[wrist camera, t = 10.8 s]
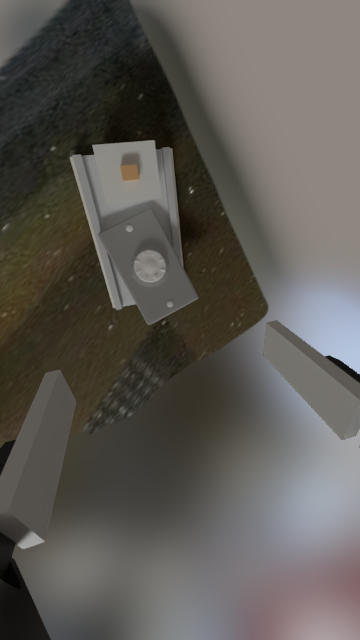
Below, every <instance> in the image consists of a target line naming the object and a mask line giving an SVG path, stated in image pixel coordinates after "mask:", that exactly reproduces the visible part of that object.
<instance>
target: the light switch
mask: <svg viewBox="0 0 360 640" xmlns="http://www.w3.org/2000/svg"><path fill="white" fill-rule="evenodd" d="M98 236H99V238H100V240H101V242H102V244H103V245H104V247H105V249H106V251H107V253H108V254H109V256H110V258H111V260H112V261H113V263H114V265H115V267H116V269H117V270H118V272H119V274H120V276H121V278H122V279H123V281H124V283H125V285H126V287H127V288H128V290H129V292H130V294H131V295H132V297H133V299H134V301H135V303H136V304H137V306H138V308H139V310H140V312H141V313H142V315H143V317H144V319H145V321H146V322H147V324H148V325H151V324H153V323H155V322H156V321H158V320H160V319H162V318H164V317H166V316H167V315H169V314H171V313H173V312H175V311H177V310H178V309H180V308H182V307H184V306H186V305H188V304H189V303H191V302H193V301H195V300H197V299H198V295H197V293H196V291H195V289H194V287H193V285H192V283H191V282H190V280H189V278H188V276H187V274H186V272H185V270H184V268H183V266H182V264H181V262H180V260H179V258H178V257H177V255H176V253H175V251H174V249H173V247H172V245H171V243H170V241H169V239H168V237H167V235H166V233H165V232H164V230H163V228H162V226H161V224H160V222H159V220H158V218H157V216H156V214H155V212H154V210H153V209H152V208H149V209H147V210H145V211H143V212H141V213H139V214H136V215H134V216H132V217H130V218H128V219H126V220H124V221H122V222H120V223H118V224H116V225H114V226H112V227H110V228H108V229H106V230H103V231H101V232H99V233H98Z"/></svg>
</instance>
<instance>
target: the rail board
mask: <svg viewBox="0 0 360 640" xmlns="http://www.w3.org/2000/svg"><path fill="white" fill-rule="evenodd" d="M92 147H93V151H94V155H85V156H82V155H81V154H79V155H72V156H73V157H70V160H71V163H72V167H73V170H74V174H75V177H76V181H77V184H78V188H79V191H80V195H81V198H82V202H83V205H84V208H85V212H86V215H87V219H88V222H89V226H90V229H91V233H92V236H93V240H94V243H95V246H96V250H97V253H98V257H99V260H100V264H101V267H102V271H103V274H104V278H105V281H106V285H107V288H108V291H109V295H110V298H111V302H112V305H113V308H116V310H119V309H122V307H123V306H128V305H134V304H136V303H135V301H134V299H133V297H132V295H131V294H130V292H129V290H128V288H127V287H126V285H125V283H124V281H123V279H122V278H121V276H120V274H119V272H118V270H117V269H116V267H115V265H114V263H113V261H112V260H111V258H110V256H109V254H108V253H107V251H106V249H105V247H104V245H103V244H102V242H101V240H100V238H99V236H98V233H99V232H101V231H103V230H106V229H108V228H110V227H112V226H114V225H116V224H118V223H120V222H122V221H124V220H126V219H128V218H130V217H132V216H134V215H136V214H139V213H141V212H143V211H145V210H147V209H149V208H152V209H153V210H154V212H155V214H156V216H157V218H158V220H159V222H160V224H161V226H162V228H163V230H164V232H165V233H166V235H167V237H168V239H169V241H170V243H171V245H172V247H173V249H174V251H175V253H176V255H177V257H178V258H179V260H180V262H181V264H182V266H183V256H182V246H181V235H180V225H179V214H178V203H177V193H176V182H175V172H174V161H173V151H172V148H170V147H163V148H162V149H156V148H155V140H150V141H138V142H125V143H112V144H99V145H92ZM183 268H184V267H183Z"/></svg>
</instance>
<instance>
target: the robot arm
mask: <svg viewBox="0 0 360 640" xmlns="http://www.w3.org/2000/svg"><path fill="white" fill-rule="evenodd" d="M263 356H264V357H265V358H266V359H267V360H268V361H269V362H270V363H271V364H272V365H273V366H274V367H275V369H276V370H277V371H278V372H279V373H280V374H281V375H282V376H283V377H284V378H285V379H286V380H287V381H288V383H289V384H290V385H291V386H292V387H293V388H294V389H295V390H296V391H297V392H298V393H299V394H300V395H301V397H302V398H303V399H304V400H305V401H306V402H307V403H308V404H309V405H310V406H311V407H312V408H313V409H314V411H315V412H316V413H317V414H318V415H319V416H320V417H321V418H322V419H323V420H324V421H325V422H326V423H327V425H328V426H329V427H330V428H331V429H332V430H333V431H334V432H335V433H336V434H337V435H338V436H339V437H340V439H341V440H345V439H348V438H350V437H353V436H356V434H357V433H358V430H359V429H360V374H357V372H355V371H354V370H353V369H351V368H349V366H347V365H346V364H344V363H343V362H342V361H340V360H338V359H336V358H333V357H331V356H325V357H324V356H323V355H322V354H320V353H319V352H318V351H316V350H315V349H314V348H313V347H311V346H310V345H308V344H307V343H306V342H305V341H303V340H302V339H301V338H299V337H298V336H297V335H295V334H294V333H293V332H291V331H290V330H289V329H287V328H286V327H285V326H283V325H282V324H281V323H280V322H278V321H277V320H276V321H272V322H267V323H266V331H265V340H264V348H263ZM75 405H76V400H75V398H74V396H73V394H72V392H71V391H70V389H69V387H68V385H67V383H66V381H65V379H64V377H63V375H62V373H61V371H60V370H56V371H52V372H47V373H45V376H44V378H43V380H42V382H41V385H40V387H39V389H38V391H37V394H36V396H35V398H34V401H33V403H32V405H31V407H30V410H29V412H28V414H27V416H26V419H25V421H24V423H23V425H22V428H21V430H20V432H19V435H18V437H17V439H16V440H13V441H9V442H5V444H4V445H3V446H2V447H1V448H0V640H51V639H50V637H49V635H48V632H47V630H46V628H45V626H44V624H43V621H42V619H41V617H40V615H39V613H38V610H37V608H36V606H35V604H34V602H33V599H32V597H31V595H30V593H29V591H28V588H27V586H26V584H25V582H24V579H23V577H22V575H21V573H20V571H19V568H18V566H17V564H16V562H15V560H14V559H13V558H12V553H13V550H14V547H15V544H16V545H18V546H19V547H21V548H22V549H25V548H28V547H31V546H34V545H37V544H39V543H42V542H45V539H46V535H47V530H48V526H49V521H50V517H51V513H52V508H53V504H54V499H55V495H56V490H57V486H58V481H59V476H60V472H61V467H62V463H63V459H64V454H65V450H66V446H67V441H68V437H69V432H70V428H71V423H72V419H73V414H74V410H75Z"/></svg>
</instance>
